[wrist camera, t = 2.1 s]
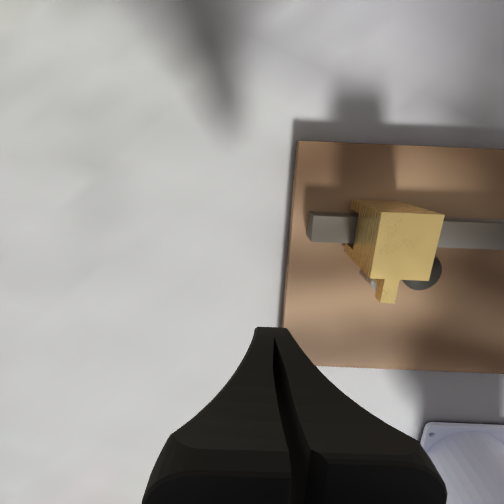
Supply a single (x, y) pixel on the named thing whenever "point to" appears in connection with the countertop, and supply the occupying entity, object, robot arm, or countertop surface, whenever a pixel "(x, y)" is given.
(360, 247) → the leg
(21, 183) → the countertop surface
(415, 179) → the board
